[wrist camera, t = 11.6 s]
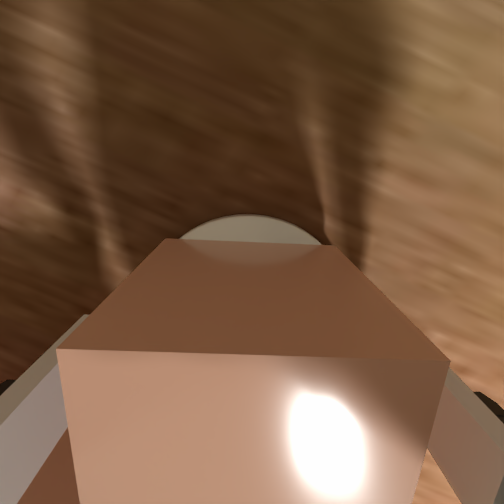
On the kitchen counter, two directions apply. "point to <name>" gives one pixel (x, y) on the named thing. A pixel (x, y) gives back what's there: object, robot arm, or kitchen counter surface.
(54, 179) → the kitchen counter surface
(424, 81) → the kitchen counter surface
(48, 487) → the tan cardboard-like box
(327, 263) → the peach pink cube
